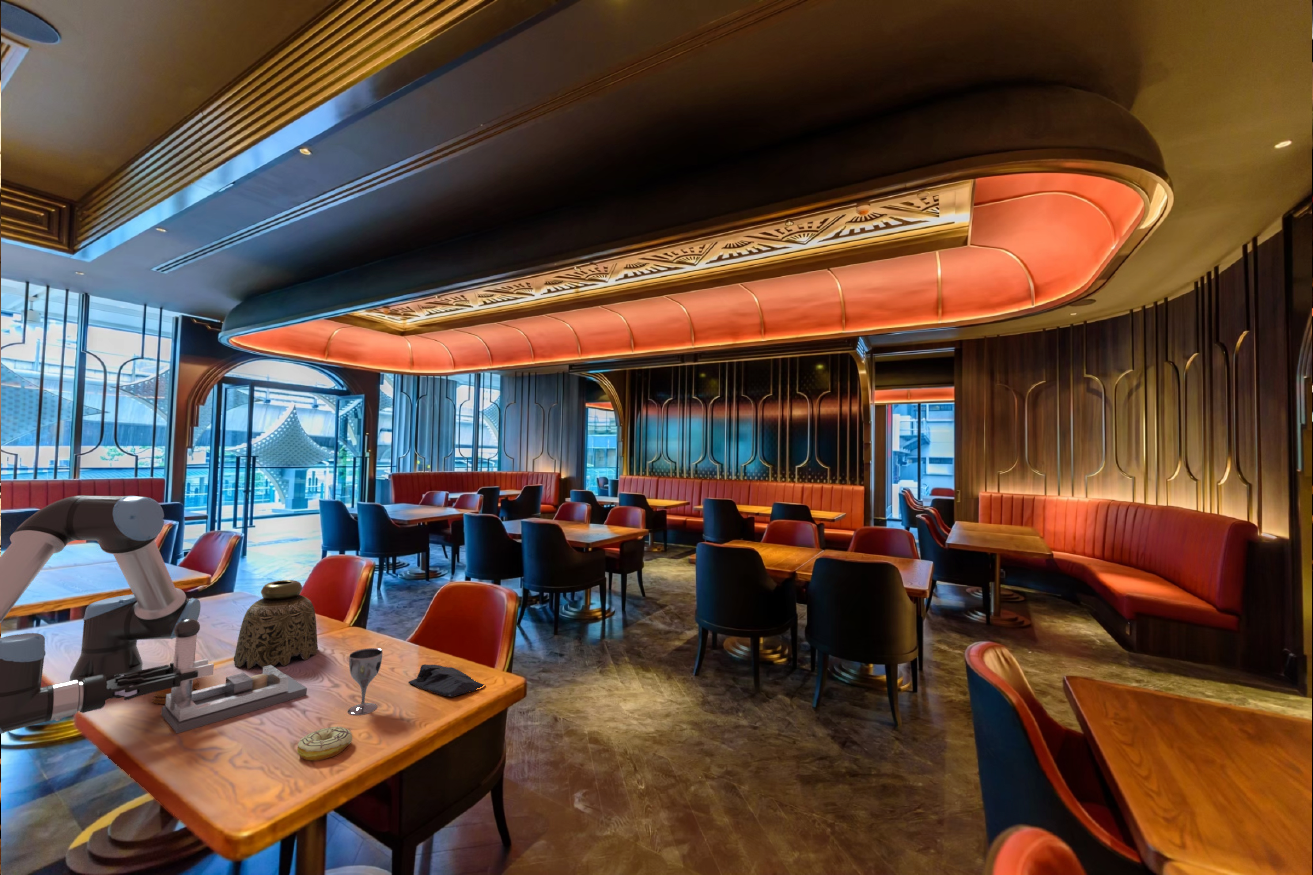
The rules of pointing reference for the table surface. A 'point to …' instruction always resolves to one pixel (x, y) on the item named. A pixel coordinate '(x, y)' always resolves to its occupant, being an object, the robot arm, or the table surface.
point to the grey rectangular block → (238, 684)
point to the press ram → (183, 696)
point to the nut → (259, 681)
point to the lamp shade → (277, 627)
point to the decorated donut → (324, 743)
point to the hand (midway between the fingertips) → (209, 666)
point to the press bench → (293, 692)
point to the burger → (161, 694)
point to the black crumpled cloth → (444, 680)
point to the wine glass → (364, 675)
